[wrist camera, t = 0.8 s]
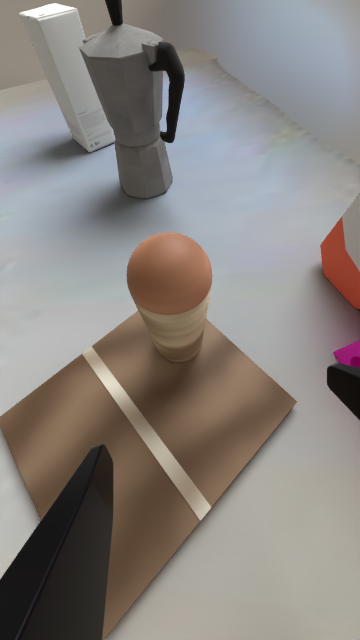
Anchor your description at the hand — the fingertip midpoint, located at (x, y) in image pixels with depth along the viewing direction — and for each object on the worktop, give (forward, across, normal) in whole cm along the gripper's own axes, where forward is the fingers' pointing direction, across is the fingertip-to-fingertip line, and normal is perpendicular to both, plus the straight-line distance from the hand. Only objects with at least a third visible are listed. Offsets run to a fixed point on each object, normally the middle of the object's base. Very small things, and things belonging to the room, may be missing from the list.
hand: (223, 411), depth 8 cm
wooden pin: (+14, 0, +3) cm, 14 cm away
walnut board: (+11, +5, +8) cm, 14 cm away
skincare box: (+50, +4, -30) cm, 58 cm away
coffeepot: (+36, -4, -17) cm, 40 cm away
